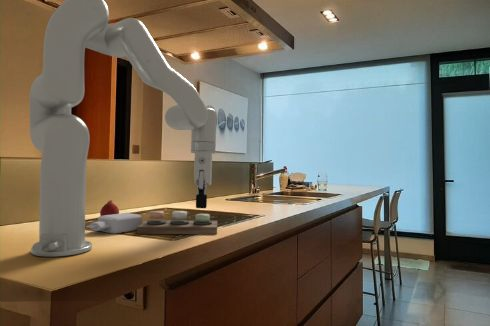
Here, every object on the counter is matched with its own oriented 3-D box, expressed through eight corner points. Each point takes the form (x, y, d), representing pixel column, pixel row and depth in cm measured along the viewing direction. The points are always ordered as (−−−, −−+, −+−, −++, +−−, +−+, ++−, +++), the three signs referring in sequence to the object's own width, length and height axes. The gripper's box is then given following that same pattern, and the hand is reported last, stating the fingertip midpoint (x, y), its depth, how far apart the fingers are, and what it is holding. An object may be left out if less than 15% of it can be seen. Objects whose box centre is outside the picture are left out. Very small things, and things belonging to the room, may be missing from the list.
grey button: (186, 218, 110) (186, 212, 110) (171, 218, 110) (171, 212, 110) (187, 216, 115) (187, 211, 115) (173, 216, 114) (173, 210, 114)
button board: (216, 234, 107) (217, 224, 107) (136, 233, 106) (137, 224, 106) (217, 226, 119) (217, 218, 119) (145, 226, 118) (145, 218, 118)
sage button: (209, 221, 111) (209, 215, 111) (194, 221, 111) (194, 215, 111) (209, 219, 115) (210, 213, 115) (195, 219, 115) (195, 213, 115)
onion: (112, 226, 117) (112, 201, 117) (96, 225, 119) (96, 200, 119) (122, 223, 123) (122, 199, 123) (106, 222, 124) (107, 198, 124)
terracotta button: (162, 218, 110) (162, 212, 110) (147, 218, 110) (147, 212, 110) (164, 216, 114) (165, 210, 114) (150, 216, 114) (150, 210, 114)
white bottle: (78, 234, 106) (123, 227, 118) (96, 238, 100) (141, 230, 112) (79, 217, 106) (123, 212, 118) (97, 220, 100) (142, 215, 112)
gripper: (215, 147, 106) (212, 211, 105) (215, 149, 120) (213, 205, 120) (188, 146, 105) (186, 210, 105) (192, 149, 120) (190, 205, 120)
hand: (201, 207), depth 112 cm, fingers closed
